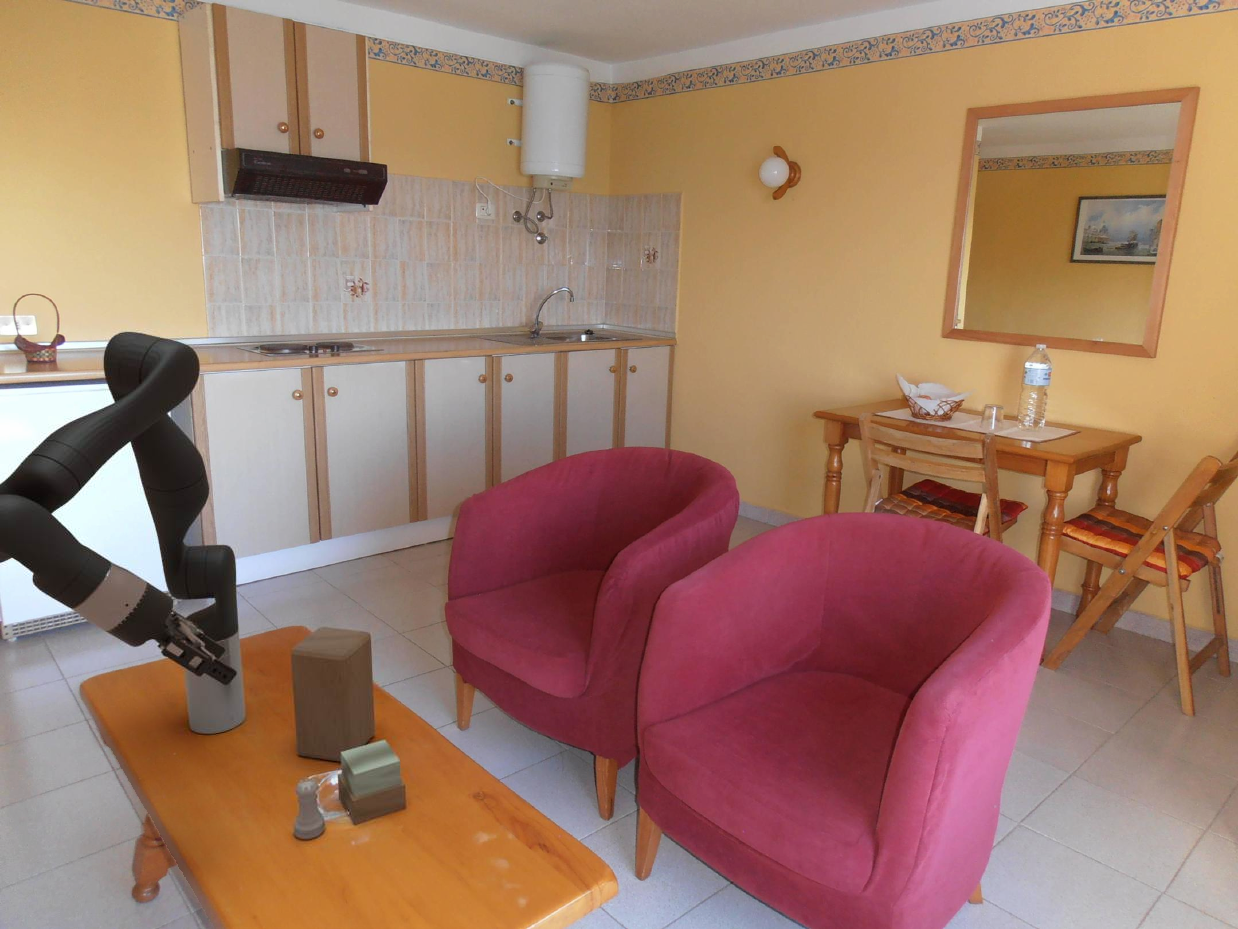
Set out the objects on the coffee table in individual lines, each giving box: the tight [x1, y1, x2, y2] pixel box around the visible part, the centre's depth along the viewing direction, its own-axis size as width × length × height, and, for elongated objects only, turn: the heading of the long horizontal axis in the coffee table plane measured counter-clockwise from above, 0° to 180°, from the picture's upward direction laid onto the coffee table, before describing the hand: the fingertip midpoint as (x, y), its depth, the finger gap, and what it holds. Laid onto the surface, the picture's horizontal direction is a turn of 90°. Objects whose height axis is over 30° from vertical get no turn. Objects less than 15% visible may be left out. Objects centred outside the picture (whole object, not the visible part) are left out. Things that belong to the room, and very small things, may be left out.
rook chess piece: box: [293, 777, 326, 841], centre depth 126 cm, size 4×4×8 cm
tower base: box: [337, 739, 407, 826], centre depth 133 cm, size 8×8×8 cm
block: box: [290, 626, 376, 763], centre depth 147 cm, size 10×10×20 cm
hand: (226, 666), depth 119 cm, fingers open, 8 cm apart
